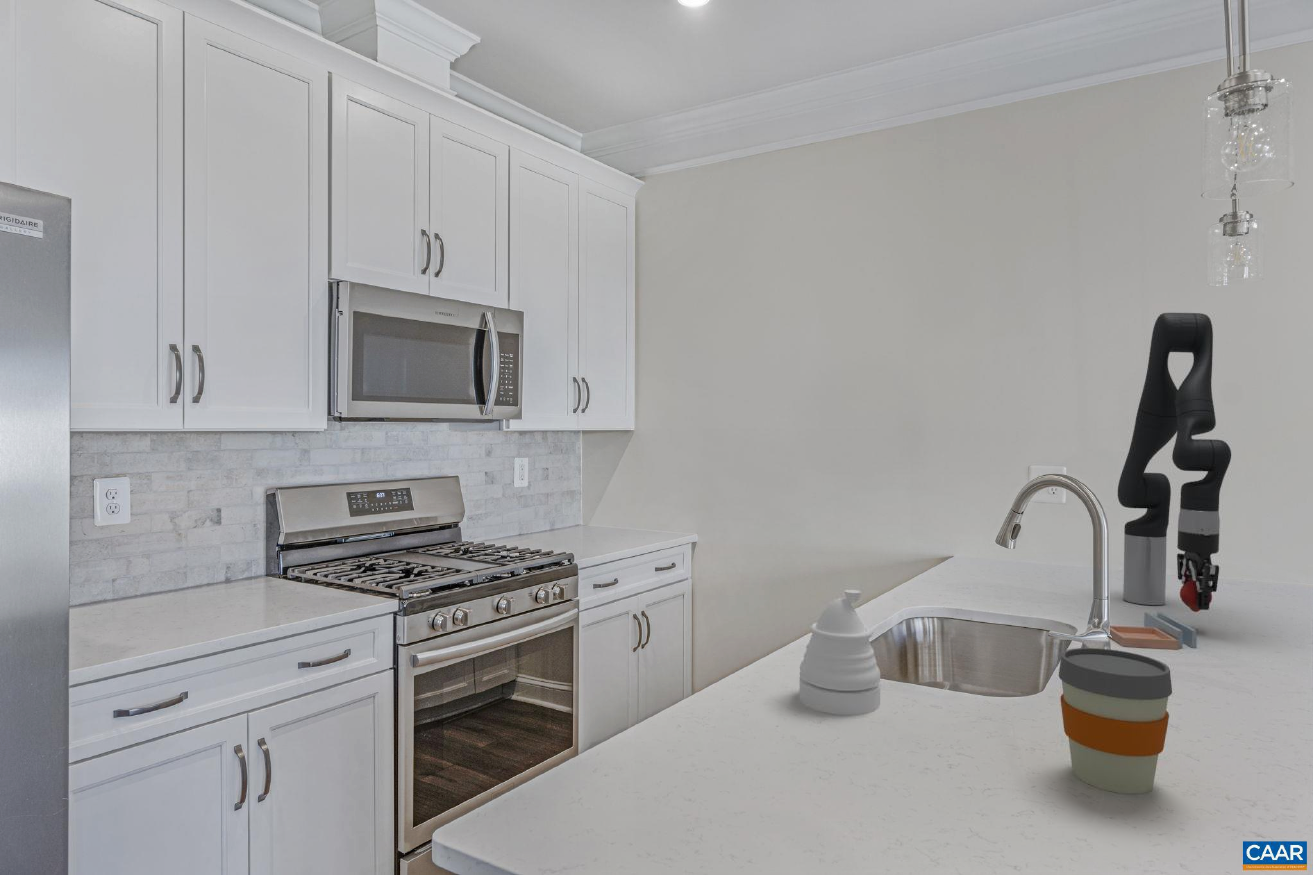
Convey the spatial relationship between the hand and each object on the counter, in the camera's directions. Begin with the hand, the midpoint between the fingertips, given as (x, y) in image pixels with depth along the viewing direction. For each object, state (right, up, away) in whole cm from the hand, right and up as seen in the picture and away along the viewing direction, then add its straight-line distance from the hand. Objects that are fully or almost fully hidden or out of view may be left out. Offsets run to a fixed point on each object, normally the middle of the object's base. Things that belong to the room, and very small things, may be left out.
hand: (1195, 605), depth 174 cm
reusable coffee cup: (-61, -7, -73) cm, 95 cm away
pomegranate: (0, -2, 0) cm, 2 cm away
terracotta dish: (-18, -6, -9) cm, 20 cm away
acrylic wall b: (-11, -6, -6) cm, 14 cm away
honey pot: (-89, -6, -45) cm, 100 cm away
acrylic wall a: (-8, -6, -5) cm, 11 cm away
